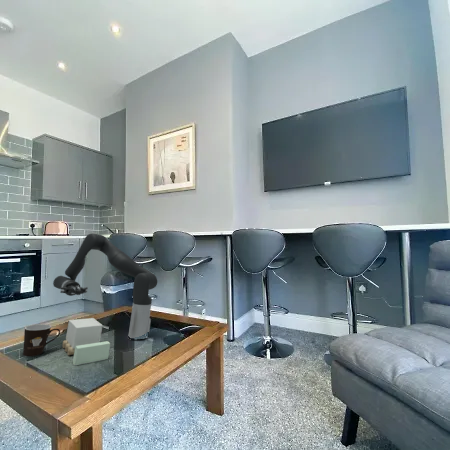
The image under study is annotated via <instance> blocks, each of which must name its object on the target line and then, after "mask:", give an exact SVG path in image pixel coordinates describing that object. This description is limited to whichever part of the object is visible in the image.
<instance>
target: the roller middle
mask: <svg viewBox="0 0 450 450" xmlns="http://www.w3.org/2000/svg"><path fill="white" fill-rule="evenodd" d="M68 347H71V345H70V344H66V345H65V348H64V352H66V353H67V350H68Z"/></svg>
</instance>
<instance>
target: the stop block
mask: <svg viewBox="0 0 450 450" xmlns="http://www.w3.org/2000/svg"><path fill="white" fill-rule="evenodd" d="M110 348H111V343H110V342H109V341H107V340H106V341H100V342H99V343H92V344H86V345H79V346H75V351H74V355H73V359H72V364H73V366H79V365H84V364H90V363H95V362H99V361H104V360H108V359H109V355H110Z"/></svg>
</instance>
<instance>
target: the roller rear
mask: <svg viewBox="0 0 450 450" xmlns="http://www.w3.org/2000/svg"><path fill="white" fill-rule="evenodd" d="M66 344H69V343H68V341H67V340H66V339H65V340H63V341H62V349H65V345H66Z"/></svg>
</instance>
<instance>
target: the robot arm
mask: <svg viewBox="0 0 450 450" xmlns="http://www.w3.org/2000/svg"><path fill="white" fill-rule="evenodd" d="M81 242H82V243H81V245H80V247H79V248H78V250H77V253H76V255H75V256H74V257H73V260H72V261H71V262H70V264H69V265H68V267H67V268H66V269H65V271H64V274H65V276H63V275H58V276H56V277H55V278H54V280H53V283H52V284H53V287H55V288H57V289H59V290H60V293H61V294H65V295H66V296H69V297H72V296H73V297H74V296H80V295H82V294H86V293H88V290H89V289H88V288H89V287H88V286H86V287H82V286H81V284H80V283H79V282H77V281H76V279H77V278H78V276H79V274H80V273H81V272H82V271H83V269H84V267H85V263H86V258H87V255H88V254H89V252H91V250H93V251H94V250H95V251H96V250H97V251H99V252H100V253H103V254H104V255H105V256H106V257H107V261H108V263H109V264H110V265H111V266H112V267H113V268H115V269H116V270H118V271H119V272H120V273H123V274H126V275H128V276H131V277H133V278H134V280H133V286H132V287H133V289H132V299H133V301H132V307H131V308H132V309H131V315H130V323H129V330H128V335H127V337H128V336H129V337H130V338H135V337H139V336H142V335H144V334H146V333H147V332H149V333H150V329H151V320H152V319H151V318H150V316H151V308H152V302H153V301H152V300H153V299H152V297H150V296H149V292H150V291H149V290H153V289H155V288H156V287H157V285H158V278H157V276H156V274H155V273H153V272H151V271H150V270H147V269H146V268H145V267H143V266H141V264H139V263H138V262H136V261H135V259H133V258H131V257H130V256H129V255H127V253H125V252H123V250H121V249H119V248H118V247H117V246H115V245H114V244H113V243H112V242H111V241H110V240H109V239H108V238H107V237H106V236H104V235H102V234H96V233H88V234H87V235H86V236H85V237H84V239H83V241H81Z"/></svg>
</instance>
